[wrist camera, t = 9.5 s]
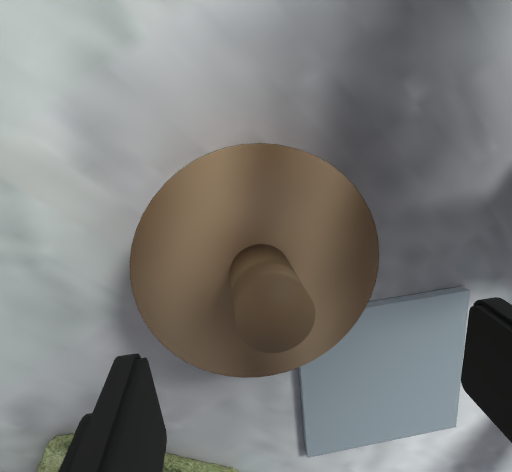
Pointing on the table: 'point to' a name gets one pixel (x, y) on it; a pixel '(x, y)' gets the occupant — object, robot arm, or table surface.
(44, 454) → the washcloth
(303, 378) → the mat
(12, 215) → the table surface
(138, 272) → the lid
